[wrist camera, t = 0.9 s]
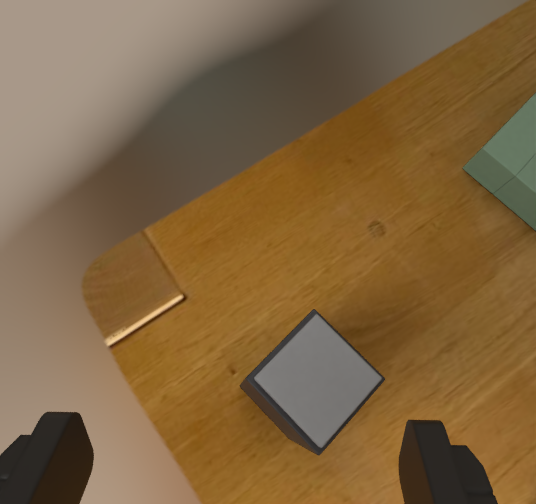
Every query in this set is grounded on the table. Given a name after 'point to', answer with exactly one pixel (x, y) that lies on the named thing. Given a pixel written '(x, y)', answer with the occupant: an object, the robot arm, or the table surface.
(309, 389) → the dark grey tall block
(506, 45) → the table surface
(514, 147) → the frame
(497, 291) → the table surface
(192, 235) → the table surface
